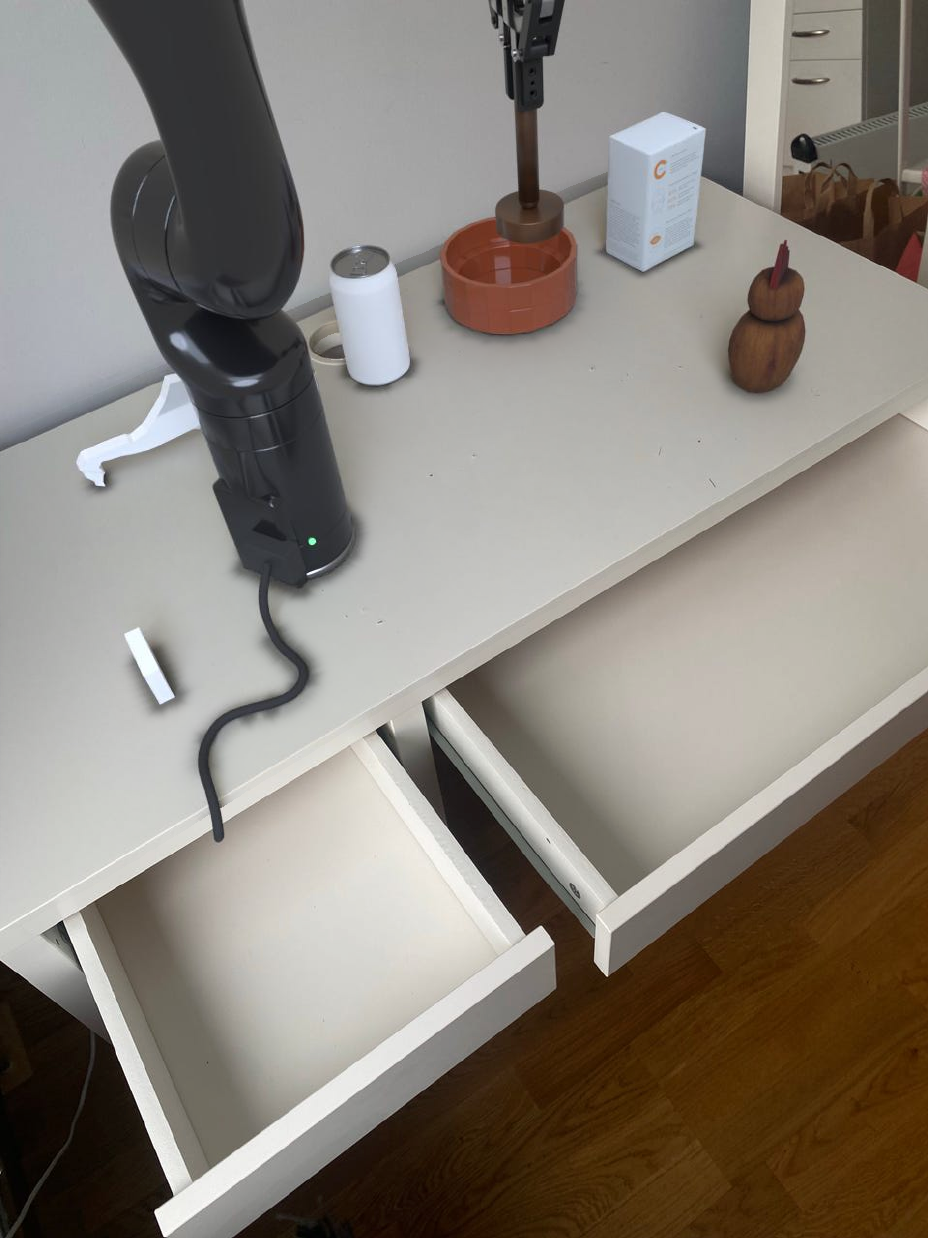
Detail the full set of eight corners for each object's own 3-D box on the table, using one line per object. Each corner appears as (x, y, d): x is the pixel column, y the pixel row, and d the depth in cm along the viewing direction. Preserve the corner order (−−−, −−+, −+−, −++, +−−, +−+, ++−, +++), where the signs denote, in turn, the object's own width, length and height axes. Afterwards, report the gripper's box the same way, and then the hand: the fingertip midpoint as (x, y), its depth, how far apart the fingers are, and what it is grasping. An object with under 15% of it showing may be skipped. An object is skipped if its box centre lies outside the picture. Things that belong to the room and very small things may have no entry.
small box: (655, 225, 110) (664, 108, 100) (694, 246, 107) (708, 127, 96) (603, 252, 107) (607, 134, 97) (642, 273, 104) (650, 154, 94)
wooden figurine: (761, 410, 88) (791, 261, 76) (712, 384, 91) (734, 237, 79) (806, 377, 90) (841, 228, 79) (757, 353, 93) (784, 206, 82)
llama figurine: (256, 464, 98) (75, 478, 88) (270, 364, 91) (75, 368, 81) (263, 474, 97) (80, 489, 87) (277, 374, 90) (81, 378, 80)
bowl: (541, 351, 96) (539, 298, 92) (422, 321, 101) (415, 270, 97) (597, 279, 104) (598, 228, 99) (483, 255, 109) (480, 205, 104)
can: (414, 349, 98) (399, 241, 89) (406, 387, 94) (388, 278, 85) (354, 350, 99) (332, 243, 90) (343, 388, 95) (319, 280, 86)
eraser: (155, 655, 75) (138, 626, 72) (175, 697, 72) (159, 669, 69) (140, 662, 75) (123, 634, 72) (160, 704, 72) (143, 677, 69)
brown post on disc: (545, 248, 81) (540, 52, 69) (484, 236, 83) (469, 43, 71) (575, 214, 84) (575, 21, 72) (515, 203, 86) (506, 13, 74)
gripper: (433, -187, 66) (456, 79, 79) (489, -141, 57) (505, 149, 70) (535, -206, 66) (541, 61, 80) (606, -163, 58) (600, 127, 71)
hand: (524, 101), depth 75 cm, fingers closed on brown post on disc
